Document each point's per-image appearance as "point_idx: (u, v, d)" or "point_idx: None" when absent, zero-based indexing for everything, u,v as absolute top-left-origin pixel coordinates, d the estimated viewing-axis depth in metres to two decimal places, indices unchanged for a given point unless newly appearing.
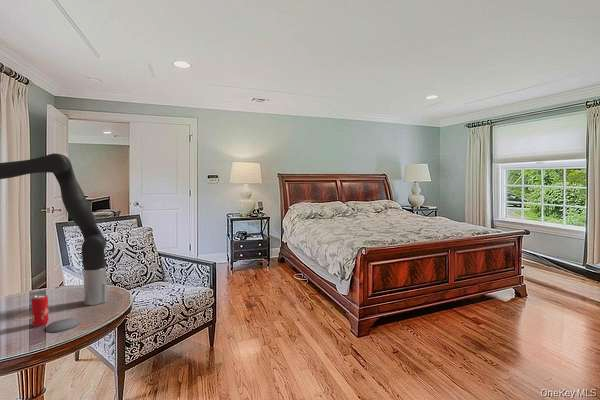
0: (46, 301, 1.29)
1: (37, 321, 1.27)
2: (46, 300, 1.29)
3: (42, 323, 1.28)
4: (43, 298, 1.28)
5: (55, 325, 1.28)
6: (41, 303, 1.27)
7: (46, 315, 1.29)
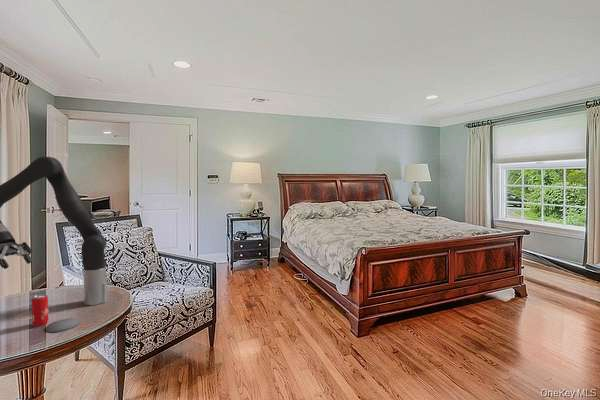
0: (46, 301, 1.29)
1: (37, 321, 1.27)
2: (46, 300, 1.29)
3: (42, 323, 1.28)
4: (43, 298, 1.28)
5: (55, 325, 1.28)
6: (41, 303, 1.27)
7: (46, 315, 1.29)
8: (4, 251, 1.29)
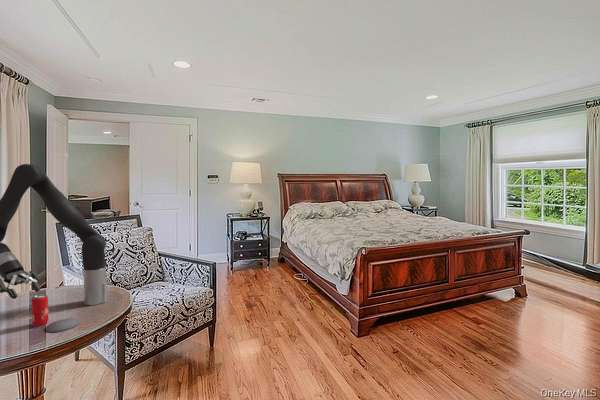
0: (46, 301, 1.29)
1: (37, 321, 1.27)
2: (46, 300, 1.29)
3: (42, 323, 1.28)
4: (43, 298, 1.28)
5: (55, 325, 1.28)
6: (41, 303, 1.27)
7: (46, 315, 1.29)
8: (13, 281, 1.29)
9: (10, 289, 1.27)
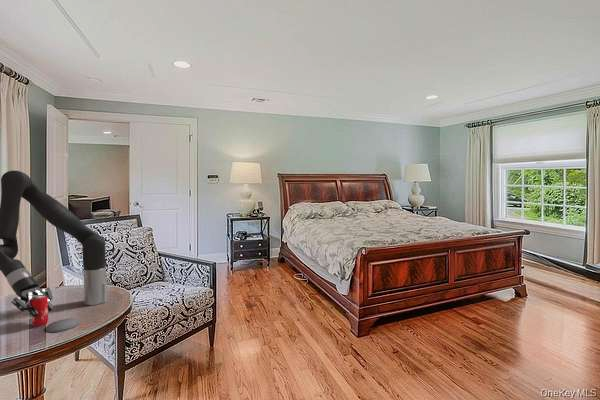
0: (46, 301, 1.29)
1: (37, 321, 1.27)
2: (46, 300, 1.29)
3: (42, 323, 1.28)
4: (43, 298, 1.28)
5: (55, 325, 1.28)
6: (41, 303, 1.27)
7: (46, 315, 1.29)
8: (30, 298, 1.28)
9: (31, 307, 1.26)
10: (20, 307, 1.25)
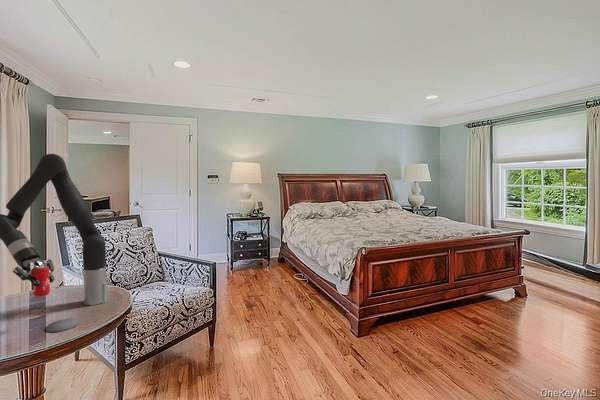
0: (47, 271, 1.28)
1: (39, 291, 1.26)
2: (47, 270, 1.28)
3: (43, 293, 1.27)
4: (44, 268, 1.27)
5: (55, 325, 1.28)
6: (42, 273, 1.26)
7: (47, 285, 1.29)
8: (32, 268, 1.27)
9: (32, 277, 1.25)
10: (21, 276, 1.24)
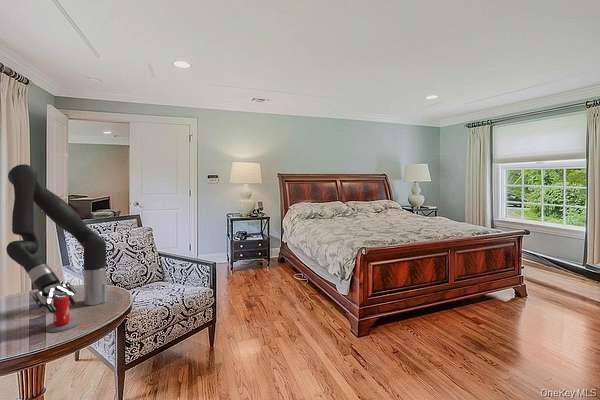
0: (68, 301, 1.28)
1: (59, 321, 1.26)
2: (68, 300, 1.28)
3: (64, 323, 1.27)
4: (65, 298, 1.27)
5: None
6: (63, 302, 1.26)
7: (68, 315, 1.28)
8: (50, 294, 1.26)
9: (49, 303, 1.24)
10: (38, 302, 1.23)
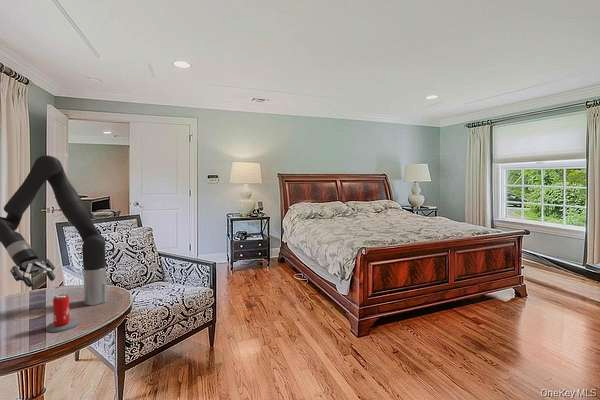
0: (68, 301, 1.28)
1: (59, 321, 1.26)
2: (68, 300, 1.28)
3: (64, 323, 1.27)
4: (65, 298, 1.27)
5: None
6: (63, 302, 1.26)
7: (68, 315, 1.28)
8: (28, 269, 1.28)
9: (26, 277, 1.26)
10: (16, 276, 1.25)
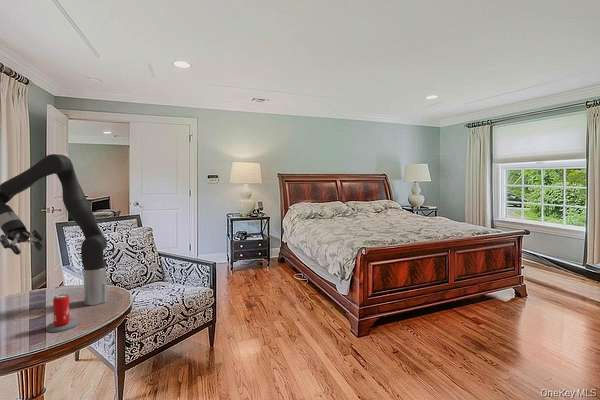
0: (68, 301, 1.28)
1: (59, 321, 1.26)
2: (68, 300, 1.28)
3: (64, 323, 1.27)
4: (65, 298, 1.27)
5: None
6: (63, 302, 1.26)
7: (68, 315, 1.28)
8: (16, 238, 1.35)
9: (14, 245, 1.33)
10: (4, 244, 1.32)
